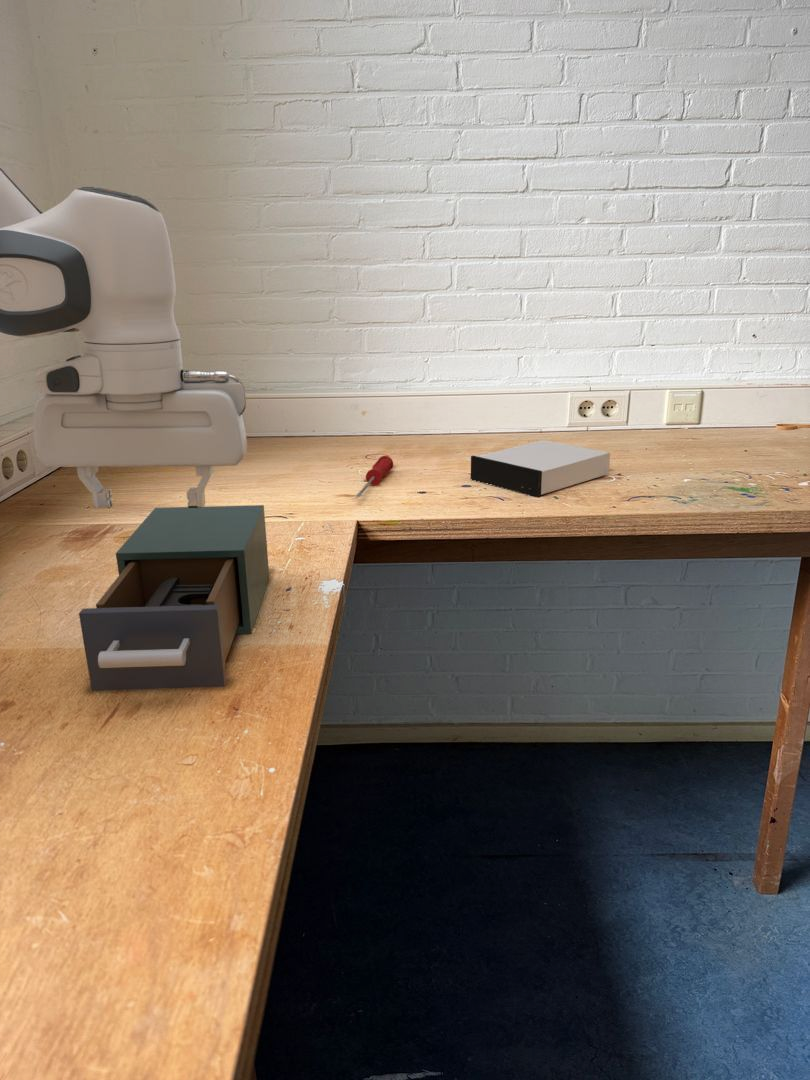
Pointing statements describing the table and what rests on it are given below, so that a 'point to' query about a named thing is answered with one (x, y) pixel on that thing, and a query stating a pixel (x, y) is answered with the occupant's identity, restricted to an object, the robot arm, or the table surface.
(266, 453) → the table surface
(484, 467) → the disc drive
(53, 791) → the table surface
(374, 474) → the screwdriver
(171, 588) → the end cap
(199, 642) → the drawer
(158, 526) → the cabinet
